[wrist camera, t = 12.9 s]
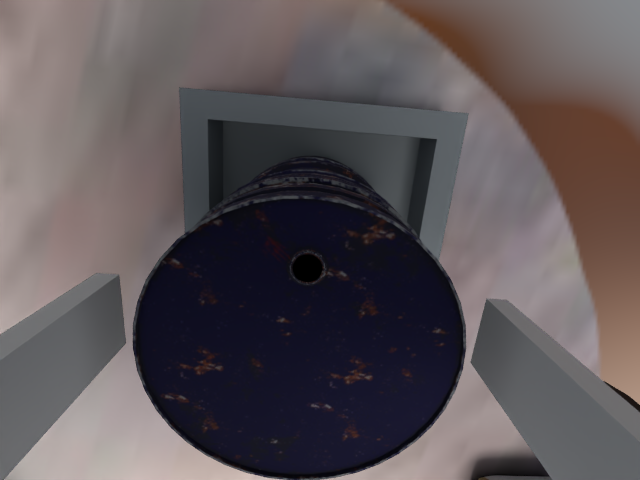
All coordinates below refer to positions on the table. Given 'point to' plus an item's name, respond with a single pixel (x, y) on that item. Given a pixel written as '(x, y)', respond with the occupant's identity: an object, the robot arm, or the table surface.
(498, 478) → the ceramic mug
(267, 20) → the table surface
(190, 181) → the tray
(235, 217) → the storage jar
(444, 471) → the table surface
